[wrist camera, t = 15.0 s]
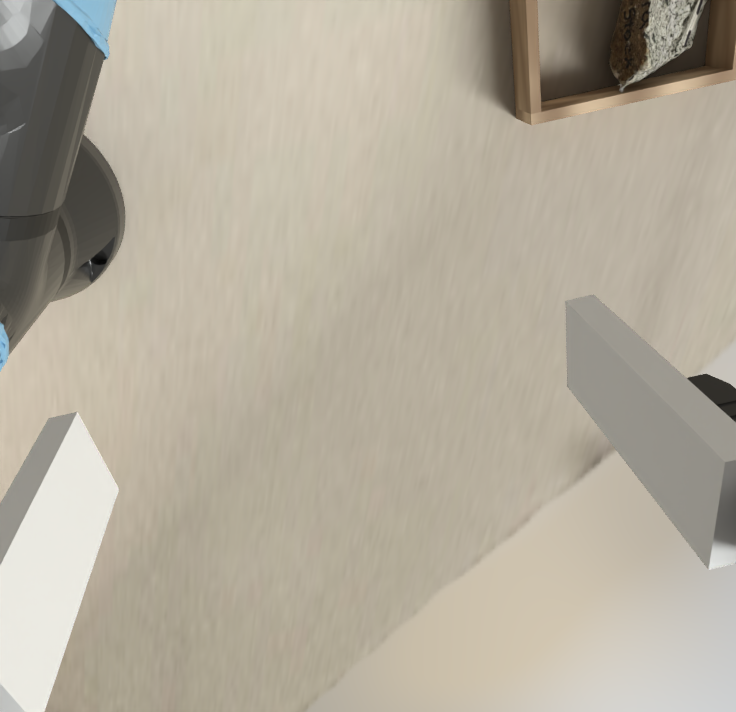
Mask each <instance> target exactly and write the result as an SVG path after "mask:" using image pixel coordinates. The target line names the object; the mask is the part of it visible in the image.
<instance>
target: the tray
mask: <svg viewBox="0 0 736 712" xmlns="http://www.w3.org/2000/svg"><path fill="white" fill-rule="evenodd" d="M509 3H510V21H511V39H512V56H513V74H514V92H515V109H516V118H517V119H519V120H521V121H523V122H526V123H528V124H530V125H535V124H539V123H544V122H548V121H553V120H557V119H562V118H566V117H571V116H575V115H580V114H584V113H589V112H593V111H598V110H602V109H607V108H611V107H616V106H620V105H625V104H629V103H634V102H638V101H643V100H647V99H652V98H656V97H661V96H665V95H670V94H674V93H679V92H683V91H688V90H692V89H697V88H701V87H706V86H710V85H715V84H719V83H724V82H728V81H733V80H736V0H711V3H710V14H709V25H708V36H707V47H706V58H705V66H702V67H698V68H693V69H689V70H684V71H680V72H675V73H671V74H666V75H662V76H657V77H653V78H648V79H644V80H640V81H638V82H635V83H631V84H629V85H627V86H626V87H625V88H624V91H623V92H622V93H621V92H620V91H619V89H620V87H621V85H619V86H618V85H616V86H612V87H607V88H603V89H598V90H594V91H589V92H585V93H580V94H576V95H571V96H567V97H562V98H558V99H553V100H549V101H544V102H541V90H540V62H539V35H538V7H537V0H509ZM629 86H630V87H629Z"/></svg>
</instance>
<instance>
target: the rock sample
mask: <svg viewBox="0 0 736 712" xmlns="http://www.w3.org/2000/svg"><path fill="white" fill-rule="evenodd" d="M706 2H707V0H622V3H621V6H620V12H619V17H618V20H617V24H616V29H615V31H614V33H613V36H612V39H611V47H610V49H611V50H612V51H611V56H610V62H609V64H610V68H611V69H612V72H613V74H614V76H615V77H616V78H617V79H618V81H619V82H620V84H619V85H621V87H620V89H619V91H620V92H621V93H622V92H623V91H624V88H625V87H626V86H627V85H629V84H631V83H635V82H638V81H640V80H642V79H643V78H644V77H647V76H648V75H649V74H652V73H654V72H655V71H657V70H658V69H659V68H660V67H662V66H663V65H665V64H667V62H669V61H671V60H673V59H674V58H676V57H678V56H679V55H680V54H681V53H682V52H683V51H686V50H688V49H689V48H691V47H692V44H693V40H694V36H695V33H696V29H697V24H698V20H699V18H700V16H701V14H702V13H703V9H704V6H705V4H706ZM619 85H618V86H619ZM629 87H630V86H629Z"/></svg>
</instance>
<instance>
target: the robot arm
mask: <svg viewBox="0 0 736 712" xmlns="http://www.w3.org/2000/svg"><path fill="white" fill-rule="evenodd" d="M115 5H116V0H0V372H1V369H2V367H3V366H4V365H5V364H6V362H7V359H8V356H9V354H10V353H11V352H12V350H13V349H14V348H15V347H16V345H17V344H18V343H19V341H20V340H21V339H22V338H23V336H24V335H25V334H26V332H27V331H28V330H29V329H30V327H31V326H32V325H33V323H34V322H35V321H36V319H37V318H38V317H39V316H40V314H41V313H42V312H43V310H44V309H45V308H46V307H47V305H48V304H49V303H50V302H53V301H57V300H60V299H64V298H67V297H70V296H72V295H74V294H76V293H78V292H80V291H82V290H84V289H85V288H87V287H88V286H90V285H91V284H92V283H94V282H95V281H96V280H97V279H98V278H99V277H100V276H101V275H102V274H103V273H104V271H105V270H106V269H107V267H108V266H109V265H110V263H111V262H112V260H113V259H114V257H115V255H116V254H117V252H118V250H119V247H120V245H121V242H122V239H123V234H124V228H125V207H124V201H123V196H122V193H121V189H120V187H119V184H118V181H117V179H116V177H115V175H114V173H113V171H112V169H111V167H110V166H109V164H108V162H107V161H106V159H105V158H104V157H103V155H102V154H101V153H100V151H99V150H98V149H97V148H96V147H95V146H94V144H93V143H92V142H91V141H90V140H89V139H88V138H87V137H86V136H84V135H83V132H84V129H85V125H86V121H87V118H88V114H89V111H90V107H91V103H92V100H93V96H94V93H95V89H96V85H97V82H98V78H99V75H100V71H101V67H102V64H103V60H106V59H108V57H109V44H108V42H107V41H108V37H109V32H110V28H111V23H112V19H113V14H114V10H115ZM566 350H567V387H568V388H569V389H570V390H571V392H572V393H573V394H574V396H575V397H576V398H577V400H578V401H579V402H580V403H581V405H582V406H583V407H584V409H585V410H586V411H587V413H588V414H589V415H590V416H591V418H592V419H593V420H594V422H595V423H596V424H597V426H598V427H599V428H600V429H601V431H602V432H603V433H604V435H605V436H606V437H607V439H608V440H609V441H610V442H611V444H612V445H613V446H614V448H615V449H616V450H617V452H618V453H619V454H620V455H621V457H622V458H623V459H624V461H625V462H626V463H627V465H628V466H629V467H630V468H631V469H632V471H633V472H634V474H635V475H636V476H637V477H638V479H639V480H640V481H641V483H642V484H643V485H644V486H645V488H646V489H647V491H648V492H649V493H650V494H651V496H652V497H653V498H654V499H655V501H656V502H657V504H658V505H659V506H660V507H661V508H662V510H663V511H664V512H665V514H666V515H667V517H668V518H669V519H670V520H671V522H672V523H673V524H674V526H675V527H676V528H677V530H678V531H679V532H680V533H681V535H682V536H683V537H684V539H685V540H686V541H687V543H688V544H689V545H690V546H691V548H692V549H693V550H694V552H695V553H696V554H697V556H698V557H699V558H700V559H701V561H702V562H703V563H704V565H705V566H706V567H707V568H708V570H710V569H714V568H718V567H723V566H727V565H731V564H735V563H736V389H735V388H734V387H733V386H732V385H731V384H729V383H726V382H724V381H722V380H719V379H717V378H715V377H712V376H710V375H708V374H703V375H698V376H694V377H689V378H686V377H685V376H684V375H682V374H681V373H680V372H679V371H678V370H677V369H676V368H675V367H674V366H672V365H671V364H670V363H669V362H668V361H667V360H666V359H665V358H664V357H662V356H661V355H660V354H659V353H658V352H657V351H656V350H655V349H654V348H652V347H651V346H650V345H649V344H648V343H647V342H646V341H645V340H644V339H642V338H641V337H640V336H639V335H638V334H637V333H636V332H635V331H634V330H632V329H631V328H630V327H629V326H628V325H627V324H626V323H625V322H624V321H622V320H621V319H620V318H619V317H618V316H617V315H616V314H615V313H614V312H612V311H611V310H610V309H609V308H608V307H607V306H606V305H605V304H604V303H602V302H601V301H600V300H599V299H598V298H597V297H596V296H595V295H589V296H585V297H581V298H576V299H572V300H567V301H566ZM118 491H119V488H118V486H117V485H116V483H115V481H114V479H113V477H112V475H111V473H110V471H109V470H108V468H107V466H106V464H105V462H104V460H103V458H102V457H101V455H100V453H99V451H98V449H97V447H96V445H95V443H94V442H93V440H92V438H91V436H90V434H89V432H88V430H87V429H86V427H85V425H84V423H83V421H82V419H81V417H80V416H79V414H78V412H75V413H71V414H66V415H62V416H57V417H53V418H49V419H48V421H47V422H46V424H45V426H44V428H43V429H42V431H41V433H40V435H39V436H38V438H37V440H36V442H35V444H34V445H33V447H32V449H31V451H30V452H29V454H28V456H27V458H26V459H25V461H24V463H23V465H22V466H21V468H20V470H19V472H18V474H17V475H16V477H15V479H14V481H13V482H12V484H11V486H10V488H9V489H8V491H7V493H6V495H5V496H4V498H3V500H2V502H1V504H0V712H44V711H45V708H46V705H47V702H48V699H49V696H50V693H51V690H52V688H53V685H54V682H55V679H56V676H57V673H58V670H59V667H60V664H61V661H62V658H63V655H64V652H65V649H66V646H67V643H68V640H69V637H70V634H71V631H72V628H73V625H74V622H75V619H76V616H77V613H78V610H79V607H80V604H81V601H82V598H83V595H84V592H85V589H86V586H87V583H88V580H89V577H90V574H91V571H92V568H93V565H94V562H95V559H96V556H97V553H98V550H99V547H100V544H101V541H102V538H103V535H104V532H105V529H106V526H107V523H108V520H109V517H110V515H111V512H112V509H113V506H114V503H115V500H116V497H117V494H118Z"/></svg>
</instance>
